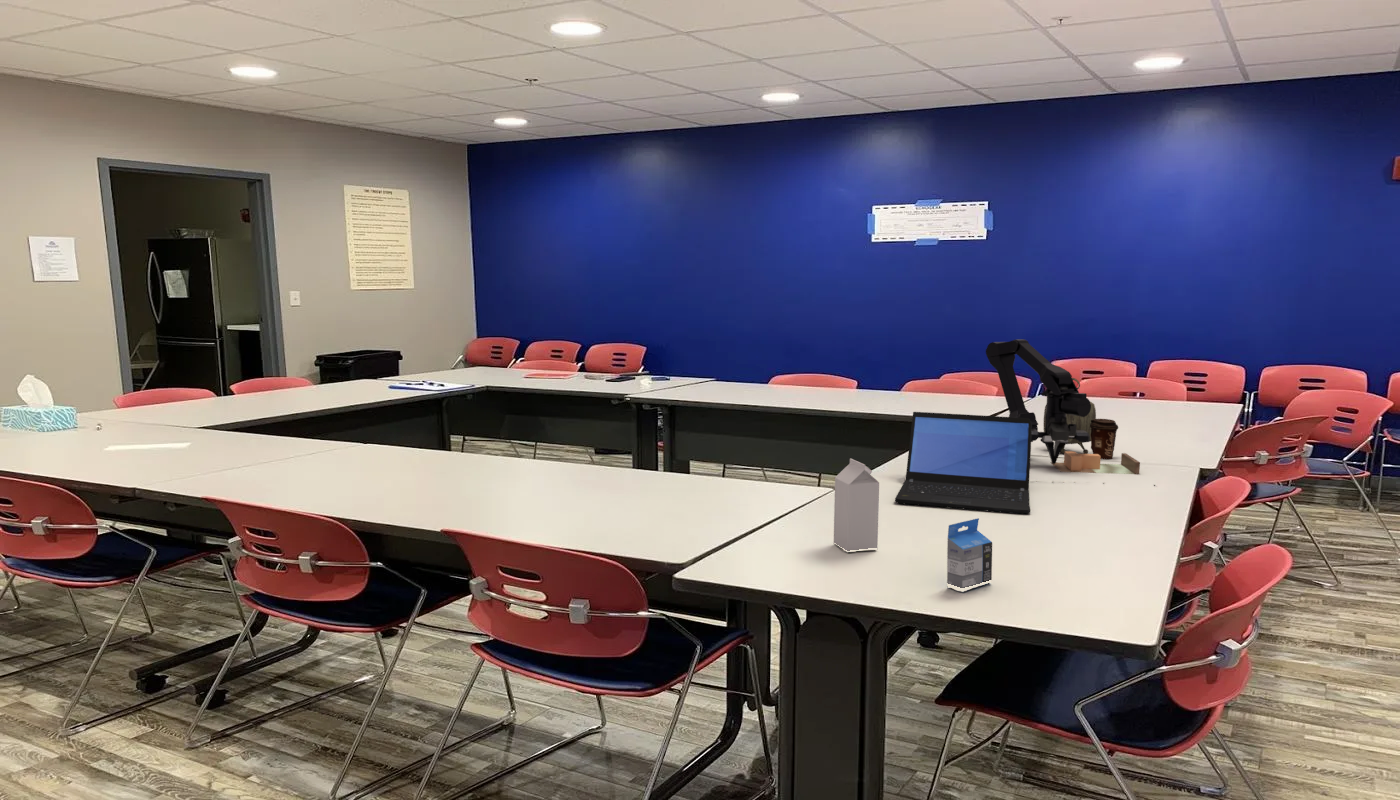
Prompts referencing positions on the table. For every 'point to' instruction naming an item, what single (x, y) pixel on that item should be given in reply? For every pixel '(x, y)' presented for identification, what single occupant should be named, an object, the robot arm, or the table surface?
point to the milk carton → (856, 508)
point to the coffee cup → (1103, 437)
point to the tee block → (1081, 461)
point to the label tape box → (968, 555)
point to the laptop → (968, 462)
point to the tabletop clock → (1078, 423)
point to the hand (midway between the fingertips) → (1053, 463)
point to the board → (1108, 467)
